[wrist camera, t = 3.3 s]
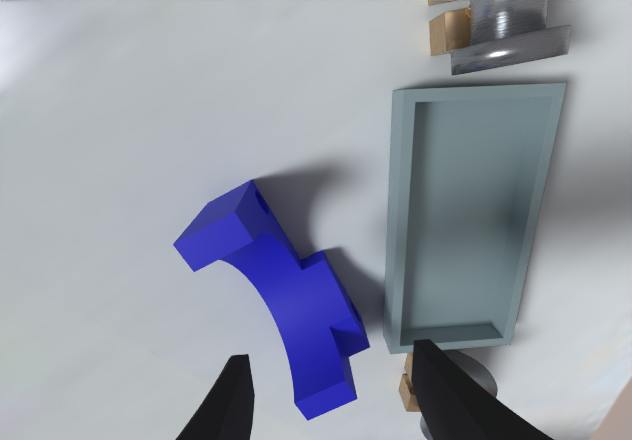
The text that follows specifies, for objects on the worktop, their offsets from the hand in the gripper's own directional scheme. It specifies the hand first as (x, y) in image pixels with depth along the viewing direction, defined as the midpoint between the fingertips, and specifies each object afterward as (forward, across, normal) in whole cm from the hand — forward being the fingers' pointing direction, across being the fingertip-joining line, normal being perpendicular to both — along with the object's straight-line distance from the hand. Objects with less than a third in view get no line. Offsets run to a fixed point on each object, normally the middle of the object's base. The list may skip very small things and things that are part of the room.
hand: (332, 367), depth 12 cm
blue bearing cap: (+9, +2, 0) cm, 10 cm away
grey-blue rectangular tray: (+9, -9, -2) cm, 13 cm away
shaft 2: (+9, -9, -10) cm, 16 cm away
